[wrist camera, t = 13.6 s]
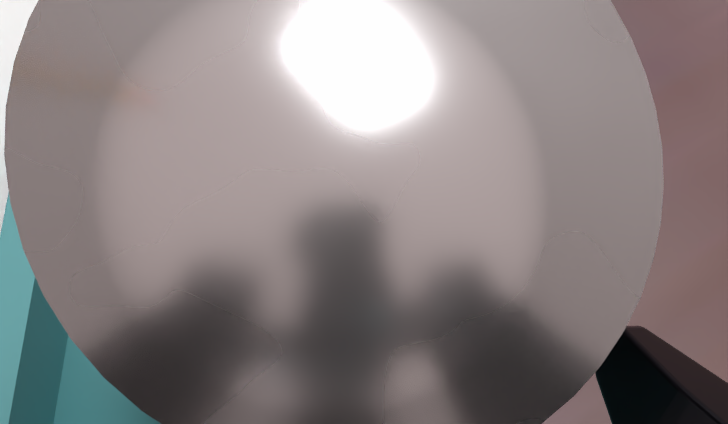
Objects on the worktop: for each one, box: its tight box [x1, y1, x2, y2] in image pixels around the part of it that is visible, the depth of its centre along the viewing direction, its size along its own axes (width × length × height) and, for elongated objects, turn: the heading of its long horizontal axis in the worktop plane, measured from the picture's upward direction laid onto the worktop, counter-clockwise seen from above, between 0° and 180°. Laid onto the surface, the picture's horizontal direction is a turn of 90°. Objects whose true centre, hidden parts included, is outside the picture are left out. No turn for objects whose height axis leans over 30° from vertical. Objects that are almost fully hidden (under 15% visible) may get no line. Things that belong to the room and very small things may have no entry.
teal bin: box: [0, 194, 161, 424], centre depth 16 cm, size 12×12×4 cm
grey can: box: [4, 0, 664, 424], centre depth 11 cm, size 6×6×12 cm
